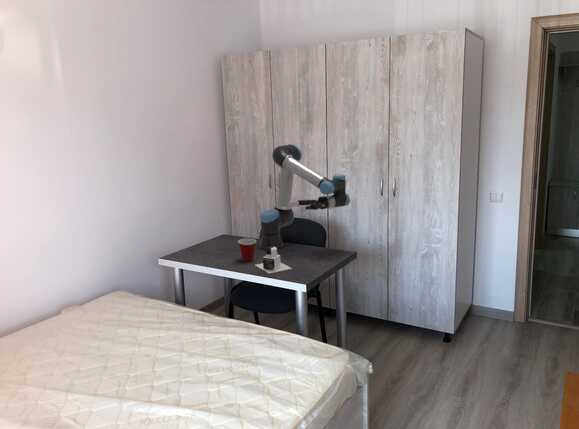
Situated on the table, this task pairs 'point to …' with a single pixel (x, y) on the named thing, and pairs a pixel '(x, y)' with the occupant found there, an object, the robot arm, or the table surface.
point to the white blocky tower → (271, 259)
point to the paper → (282, 268)
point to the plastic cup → (247, 249)
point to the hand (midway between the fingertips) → (294, 206)
